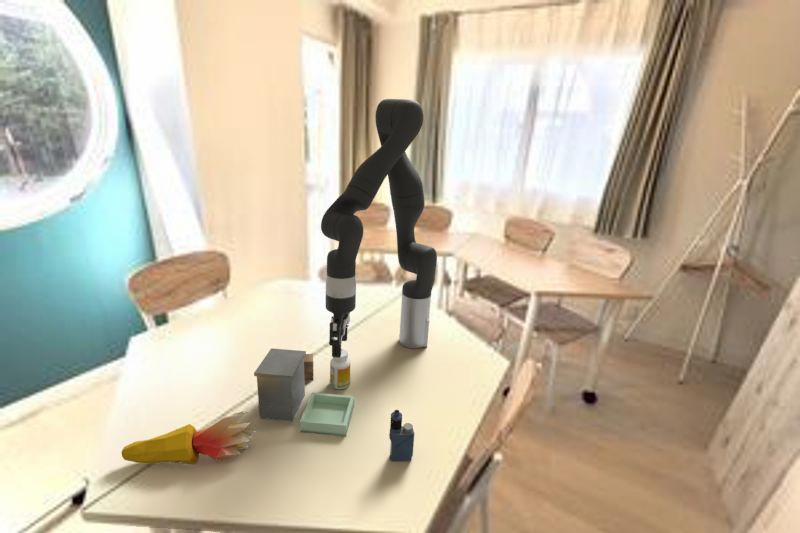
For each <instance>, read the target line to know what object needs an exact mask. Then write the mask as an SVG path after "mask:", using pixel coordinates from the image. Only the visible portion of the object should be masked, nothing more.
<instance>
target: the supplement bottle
mask: <svg viewBox="0 0 800 533" xmlns="http://www.w3.org/2000/svg"><path fill="white" fill-rule="evenodd" d="M329 366H330V367H329V375H330V376H329V378H330V379H329V383H330V386H331V387H332V388H333V389H335V390H343V389H347V388H348V387H349V386H350V384H351V359H350V358H349V351H348V350H346V349H343V348H341V356H340V357H339V358H338V357H331V359H330V362H329Z"/></svg>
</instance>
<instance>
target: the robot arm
mask: <svg viewBox="0 0 800 533" xmlns="http://www.w3.org/2000/svg"><path fill="white" fill-rule="evenodd" d="M423 124H424V111H423V108H422V105H421V104H420V103H419V102H418V101H416V100H413V99H403V98H402V99H401V98H386V99H383V100H381V101H380V102H379V103H378V105H377V106H376V109H375V127H376V130H377V134H378V135H377V136H378V138H379V143H380V147H379V148H377V150H376V151H374V152H373V153H372V154H371V155H370V156H369V157H368V158H366V160H364V161H363V162H362V163H361V164H360V165H359V166H358V167H357V169H356V170H355V172H354V173H353V175H352V177H351V178H350V181H349V183H348V184H347V186H346V187H345V190H344V192H342V193H341V194H340V195H339V196H338V197H337V198H336V200H334V202H333V203H332V204H331V205H330V206H329V207H328V208H327V210H325V212H324V213H323V216H322V218H321V220H320V221H321V222H320V228H321V233H322V234H323V235H324V236H325V237H326V238H328V239H331V240H333V241H336V242H338V247H337V249H335V248H334V249H331V250H330V251H328V253H327V256H326V278H325V309H326V310H327V311H328V312H329V313H331V314H333V316H331V319H330V322H329V342H328V344H329V346H330V347H331V358H333V357H338V358H339V357H340V356H341V349H342V344H343V343H342V342H347V340H348V328H349V324H350V321H351V312H353V311H354V310H355V309H356V304H357V302H356V299H357V298H356V297H357V279H356V269H357V268H356V265H357V264H356V263H357V262H356V259H357V256H358V253H359V250H360V247H361V243H362V240H363V236H364V224H363V222H362V220H361V218H360V217H358V215H356V213H357V212H360V211H361V212H362V211H366V210H368V209H369V208H370V206H371V205H372V203H373V201H374V199H375V197H376V196H377V194H378V191H380V188H381V186H382V184H383V183H384V181H385V179H386V178H387V179H388V184H389V193H390V199H391V205H392V209H393V215H394V216H393V217H394V222H395V223H394V224H395V231H396V246H397V247H396V248H397V250H396V251H397V259H398V264H399V266H400V268H401V270H404V271H406V272H409V273H412V274H415V275H416V279H413V280H408V281H406V282H404V283H403V284H402V290H401V291H402V292H401V304H400V305H401V308H400V324H399V336H398V338H399V343H400V345H402V346H403V347H406V348H409V349H421V348H427V347H428V342H429V341H428V340H429V330H430V329H429V328H430V314H431V313H430V310H431V300H432V291H433V288H434V284H435V277H436V268H437V263H438V254H437V250H436V249H435V248H434V247H432V246H428V245H425V244H422V243H417V240H416V237H415V228H416V227H415V226H416V224H417V223H418V220H419V219H420V218H421V217H422V216H421V215H422V213H423V211H424V209H425V202H426V201H425V194H424V185H423V181H422V179H421V177H420V174H419V173H418V172H417V170H416V168H415V166H414V165H413V164H412V162H411V161H410V159H409V157H408V154H407V152H406V151H407V149H408V148H409V147H410V146H411V144H412V143H413V141H414V140H416V137H417V136H418V134H419V133H420V131H421V129H422V126H423ZM335 338H336V339H335Z"/></svg>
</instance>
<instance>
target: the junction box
mask: <svg viewBox="0 0 800 533" xmlns="http://www.w3.org/2000/svg"><path fill="white" fill-rule="evenodd" d="M306 354H307V352H306V350H295V349H294V350H293V349H284V348H283V349H282V348H270V350H269V351H268V353H267V354H266V355H265V356H264V358H263V360H262V361H261V362H260V363H259V365H258V366H257V368H256V369H255V370H254V372H253V376H254V377H256V383H257V399H258V412H259V419H262V420H263V419H264V420H276V421H284V422H294V420H295V419H296V416H297V414H298V411H299V409H300V407H301V406H302V405H301V404H302V403H303V400H304V398H305V395H306V384H305V383H306V381H305V377H304V357H305V355H306Z"/></svg>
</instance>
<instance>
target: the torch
mask: <svg viewBox="0 0 800 533" xmlns="http://www.w3.org/2000/svg"><path fill="white" fill-rule="evenodd" d="M247 414H248V411H245V412H244V411H241V412H236V413H233V414H231V415H228V416H225V417H222V418H220V419H219V420H218V421H216V422H215V423H213V424H212V425H210V426H208V427H206V428H204V429H202V430H198V431H197V429H196V428H195V426H193V425H192V424H190V423H188V424H186V425H184V426H182V427H178V428H177V429H174V430H172V431H170V432H166V433H164V434H161V435H159V436H155V437H152V438H150V439H144V440H138V441H133V442H132V443H129V444H128V445H126V446H124V447H123V448H122V450H121V457H122V458H123V460H124V461H128V462H133V463H139V464H148V465H150V464H151V465H153V464H163V463H164V464H165V463H177V464H178V463H181V464H189V465H196V464H197V462H198V460H199V457H200V455H204V456H207V457H210V458H211V459H213V460H216V461H218V462H220V461H222V460H226V459H229V458H233V457H236V456H239V455H242V453H241V452H240V451H239V450H245V449H248V447H249V446H250V444H249V443H248V442H250V439H248V438H252V437H254V436H253V435H255V434H257V433H258V432H257V431H254V430H251V429H246V428H247V427H248V426H249V425H250V424H251V423H252V421H249V422H245V423H239V422H241V420H242V419H243V418H244V417H245V416H246V415H247ZM238 423H239V424H238ZM245 429H246V430H245Z"/></svg>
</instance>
